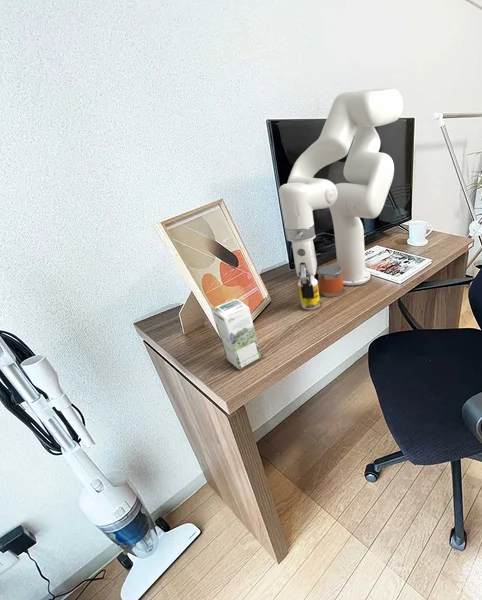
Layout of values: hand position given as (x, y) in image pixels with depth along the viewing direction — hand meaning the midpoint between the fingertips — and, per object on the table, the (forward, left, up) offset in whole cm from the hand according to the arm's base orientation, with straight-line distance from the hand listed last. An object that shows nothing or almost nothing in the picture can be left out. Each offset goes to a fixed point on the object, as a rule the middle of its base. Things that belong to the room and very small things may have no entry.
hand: (309, 290), depth 95 cm
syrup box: (+23, -14, -5) cm, 27 cm away
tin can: (-8, +6, -5) cm, 11 cm away
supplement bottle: (0, 0, -5) cm, 5 cm away
